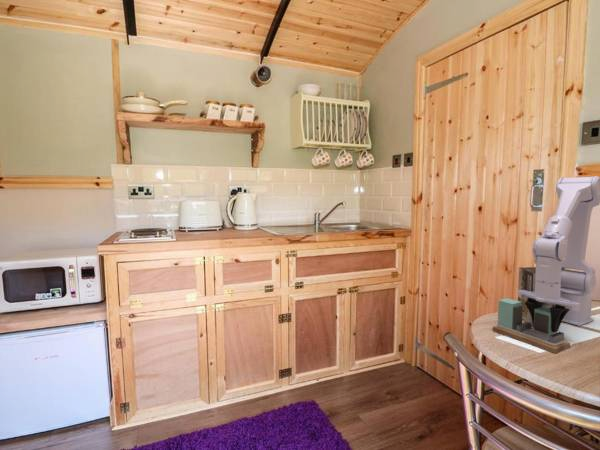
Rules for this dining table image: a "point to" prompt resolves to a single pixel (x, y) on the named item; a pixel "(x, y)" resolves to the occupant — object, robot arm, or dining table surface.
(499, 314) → the rail
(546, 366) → the dining table surface
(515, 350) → the dining table surface
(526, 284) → the coffee box
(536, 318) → the teal rectangular block
